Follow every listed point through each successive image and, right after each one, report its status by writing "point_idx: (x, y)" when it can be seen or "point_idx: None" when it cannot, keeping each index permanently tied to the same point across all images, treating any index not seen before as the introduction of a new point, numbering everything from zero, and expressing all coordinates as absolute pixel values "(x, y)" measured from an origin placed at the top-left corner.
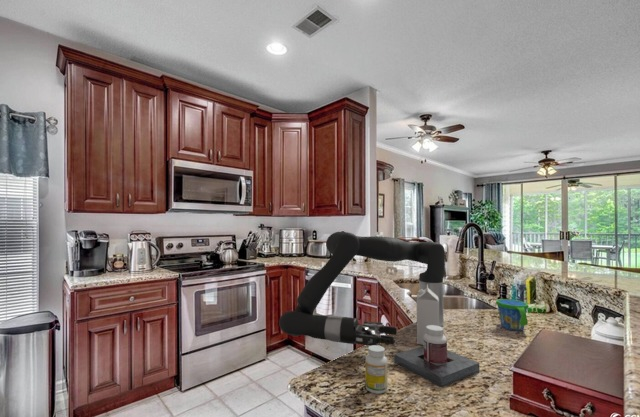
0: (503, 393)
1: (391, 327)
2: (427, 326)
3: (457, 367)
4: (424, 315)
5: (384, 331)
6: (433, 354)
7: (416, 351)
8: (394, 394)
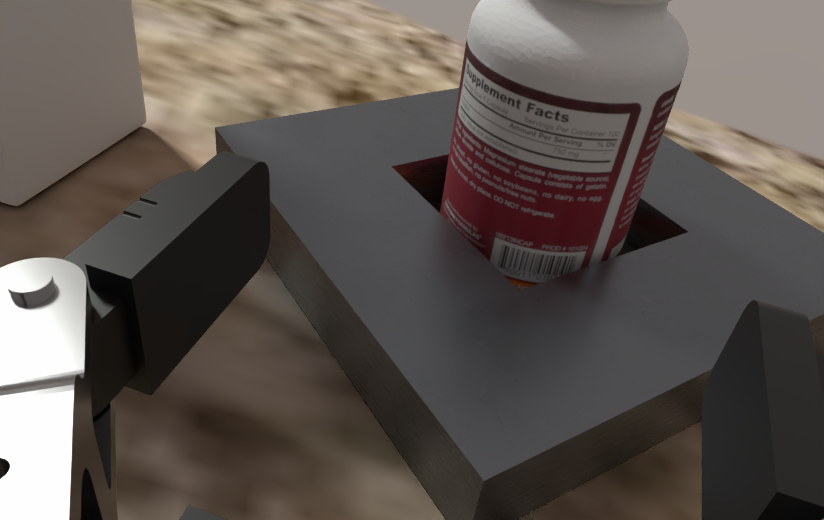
0: (762, 142)
1: (224, 198)
2: None
3: (667, 158)
4: None
5: (150, 358)
6: (647, 174)
7: (388, 257)
8: None
